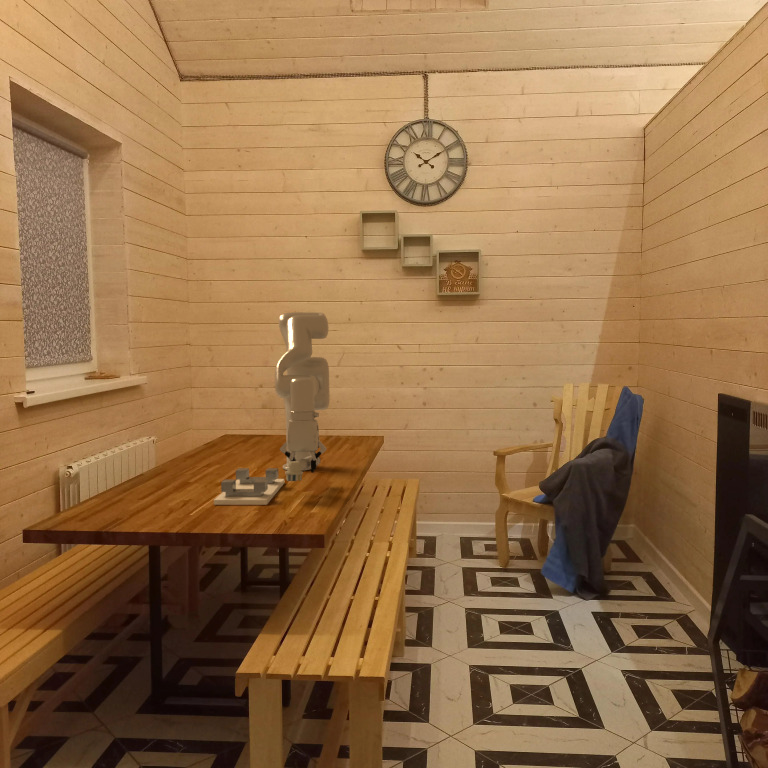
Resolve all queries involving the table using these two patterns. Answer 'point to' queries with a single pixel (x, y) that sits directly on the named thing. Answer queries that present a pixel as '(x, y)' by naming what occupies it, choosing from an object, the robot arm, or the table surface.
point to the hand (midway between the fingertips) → (303, 471)
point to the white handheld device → (299, 468)
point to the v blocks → (244, 478)
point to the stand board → (250, 500)
